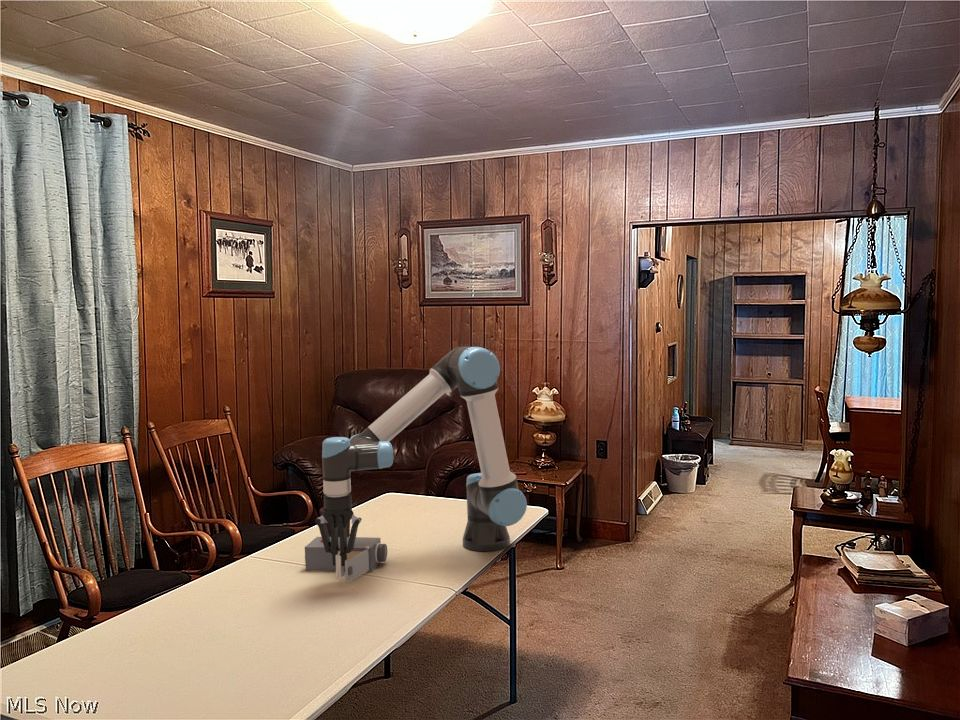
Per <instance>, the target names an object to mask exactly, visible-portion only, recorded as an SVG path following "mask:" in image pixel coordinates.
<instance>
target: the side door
mask: <svg viewBox="0 0 960 720" xmlns="http://www.w3.org/2000/svg"><path fill="white" fill-rule="evenodd" d="M367 571H369V556H368V550H364V551H363V552H361V553H359V554H357V555H355V556H353V557H351V558H349V559H347V560H345V571H344V576H345V583H349V582H352V581H353V580H355V579H357V578H359V577H360V576H362V575H364V574H365V573H368V572H367Z"/></svg>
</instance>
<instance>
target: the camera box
mask: <svg viewBox="0 0 960 720" xmlns="http://www.w3.org/2000/svg"><path fill="white" fill-rule="evenodd" d="M330 540H331V537H330ZM348 541H349V537H347V546H348ZM381 542H382V541H381V537H370V536H369V537H365V536H364V537H361V536H360V537H357V536H356V538H355V543H354V548H353V550H352V551H351V552H350V553H347V559H349V558H351V557H353V556H355V555H357V554H359V553H361V552H363V551H364V550H368V556H369V571H367V572H366V573H372V572H373V571H374V569H376V568H377V566H379V564H380V563H385V562H387V558H388V545H387V544H386V543H381ZM338 544H339V549H340V537H338ZM339 552H340V550H339V551H338V553H339ZM304 562H305V571H307V572H308V571H310V572H311V571H314V572H317V571H318V572H336V566H333V559H332V554H331V553H329V552H328V553H327V552H326V551H325V548H324V544H323V540H322V537H321V536H316V537H315V538H313V539H312V540H311V541H310V542H309V543H307V545H305V546H304ZM344 572H345V566H344Z"/></svg>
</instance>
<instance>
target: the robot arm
mask: <svg viewBox="0 0 960 720" xmlns="http://www.w3.org/2000/svg"><path fill="white" fill-rule="evenodd" d="M500 373H501V366H500V362H499V359H498V357H496V355H495V354H494V353H493V352H492V351H491V350H489V349H487V348H484V347H480V346H466V345H465V346H464V345H463V346H458V347H455V348H453V349H452V350H451V351H449V352H448V353H447V354H445V355H444V356H443V357H442V358H441V359H440V360H439V361H438V362H437V363H435V364H434V365H433V366H432V367H430V369H429V374H428V375H427V376H425V377H424V378H423V379H422V380H421V381H420V382H419V383H417V384H416V385H415V386H414V387H413V388H412V389H410V390H409V391H408V392H406V394H405V395H404V396H402V397H401V398H400V399H399V400H398V401H396V402H395V403H394V404H393V405H392V406H390V408H388V409H387V410H386V411H384V412H383V414H381V415H380V416H379V417H378V418H377V419H375V420H374V421H373V422H371V424H370V425H368V427H366V428H365V429H364V430H362V432H360V433H357V434H354V435H352V436H351V437H350V438H348V437H345V436H331V437H328V438H325V439H324V440H323V441H322V445H321V447H322V449H321V454H322V455H321V460H322V461H321V462H322V465H321V466H322V483H323V484H322V486H323V507H324V512H323V515H322V516H321V515H320V516H318V517H317V518H316V519H315V520H314V522H315V524H316V525H317V526H318V530H319V534H320V537H322V540H323V544H324V548H325V551H326V552H327V553H328V552H329V553H331V554H332V559H333V566H336V571H335V575H336V576H335V577H336V578H335V579H339V580H340V579H342V578H343V577H344V576H345V571H344V566H345V560H347V553H350V552H351V551H352V550H353V548H354V543H355V538H356V537H357V533H358V530H359V529H358V528H359V525H360V523H361V522H362V518H361V517H357V516H356V515H355V513H354V511H353V509H352V508H353V507H352V494H351V492H352V485H351V484H352V483H351V482H352V481H351V472H357V471H367V470H378V469H380V470H382V469H385V468H391V466H393V463H394V448H393V445H392V443H391V442H390V441H392V440H393V439H394V438H395V437H396V436H397V435H399V434H400V433H401V432H402V431H403V430H404V429H405V428H407V427H408V426H409V425H410V424H411V423H413V421H414V420H416V419H417V418H418V417H419V416H421V415H422V414H423V413H424V412H425V411H426V410H428V408H429V407H431V405H433V404H435V402H436V401H438V399H440V398H441V397H442V396H443V395H445V393H447V394H450V393H451V392H453V391H454V390H455V389H457V388H458V392H459V395H460V397H461V398H462V399H464V400H465V401H466V406H467V410H468V416H469V420H470V424H471V429H472V434H473V438H474V444H475V449H476V454H477V459H478V463H479V468H480V472H477V473H471V474H469V475H467V477H466V484H465V487H466V509H467V510H466V512H467V513H466V514H467V520H466V521H467V522H466V526H465V528H464V529H465V530H464V532H463V537H462V546H463V548H464V549H467V550H469V551H470V550H471V551H475V552H495V551H499V550H504V549H506V548H507V547H509V546H510V545H511V537H510V534H509V530H508V527H510V526H512V525H515V524H517V523H518V522H520V521H521V520H522V518H523V517H524V515H525V514H526V511H527V508H528V503H527V497H526V496H525V493H523V491H521V490H520V489H519V484H518V480H517V479H518V478H517V475H516V474H515V473H514V472H512V471H511V470H510V465H509V459H508V455H507V451H506V449H507V448H506V444H505V440H504V435H503V430H502V424H501V420H500V416H499V411H498V406H497V405H498V404H497V401H496V400H497V399H496V394H497V392H498V390H499V384H498V383H499V382H498V378H499V377H500ZM326 521H327V522H328V524H329V525H330V531H331V540H330V537H329V533H328V529H327V526H326V523H325V522H326ZM349 521H350V524H351V525H352V526H351V527H350V536H349V541H348V546H347V524H348V523H349ZM338 527H339V532H340V549H339V544H338ZM339 550H340V552H339V553H338V551H339Z"/></svg>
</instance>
